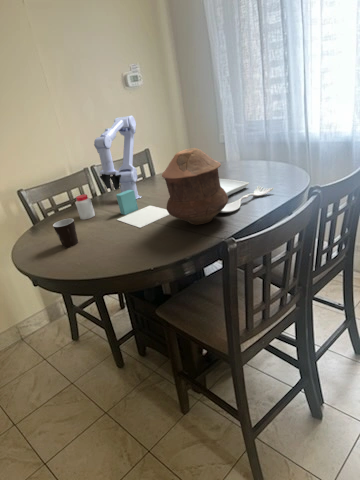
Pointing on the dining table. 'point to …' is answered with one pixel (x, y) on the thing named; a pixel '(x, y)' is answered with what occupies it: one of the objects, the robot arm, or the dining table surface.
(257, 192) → the spoon
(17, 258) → the dining table surface
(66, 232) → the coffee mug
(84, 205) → the pill bottle
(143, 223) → the mat
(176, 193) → the pottery vessel
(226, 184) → the square plate
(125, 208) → the teal slab
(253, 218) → the dining table surface
